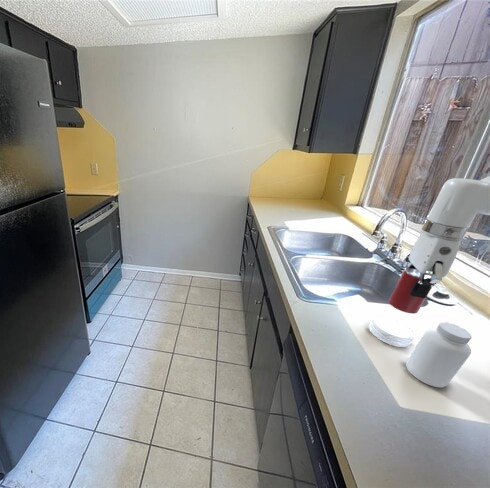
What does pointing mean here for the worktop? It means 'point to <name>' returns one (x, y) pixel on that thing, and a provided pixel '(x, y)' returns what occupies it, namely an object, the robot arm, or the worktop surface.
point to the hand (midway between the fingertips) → (411, 288)
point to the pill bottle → (440, 354)
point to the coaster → (391, 331)
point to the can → (406, 292)
